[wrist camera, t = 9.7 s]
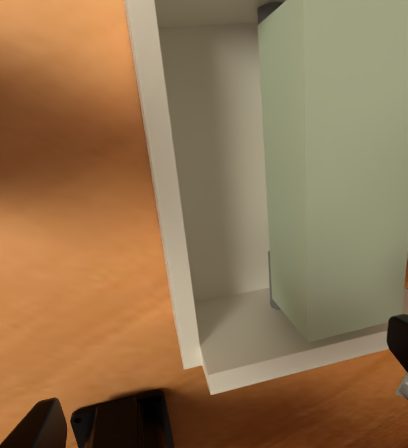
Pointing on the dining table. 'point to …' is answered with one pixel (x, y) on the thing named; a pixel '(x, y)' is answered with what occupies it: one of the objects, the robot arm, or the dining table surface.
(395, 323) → the robot arm
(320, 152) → the shelf board
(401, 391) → the skyscraper
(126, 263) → the dining table surface
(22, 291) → the dining table surface
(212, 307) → the tray
